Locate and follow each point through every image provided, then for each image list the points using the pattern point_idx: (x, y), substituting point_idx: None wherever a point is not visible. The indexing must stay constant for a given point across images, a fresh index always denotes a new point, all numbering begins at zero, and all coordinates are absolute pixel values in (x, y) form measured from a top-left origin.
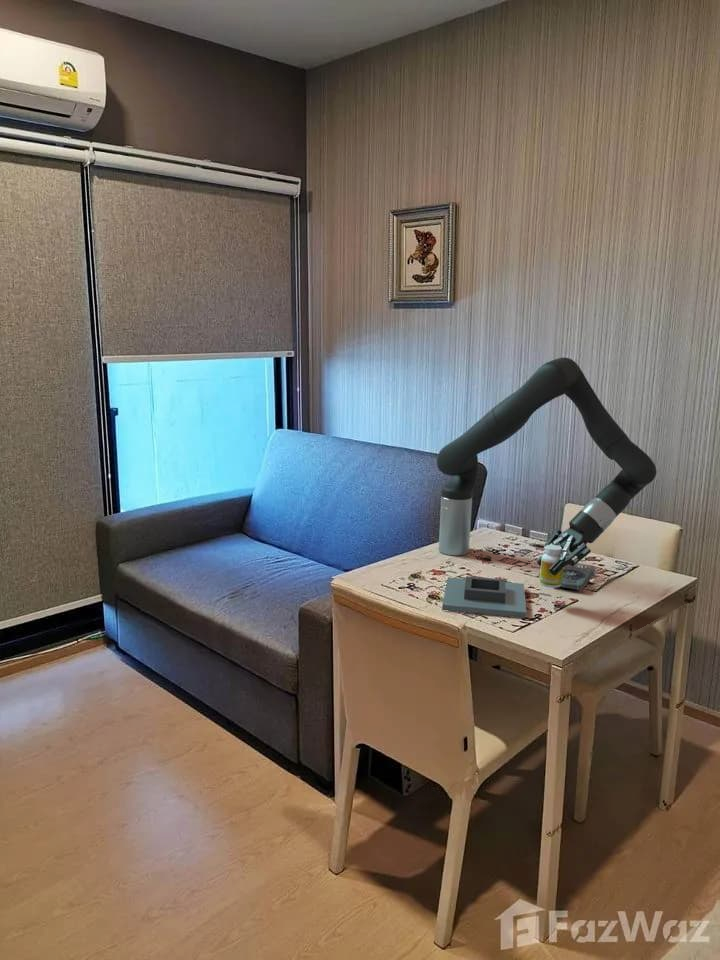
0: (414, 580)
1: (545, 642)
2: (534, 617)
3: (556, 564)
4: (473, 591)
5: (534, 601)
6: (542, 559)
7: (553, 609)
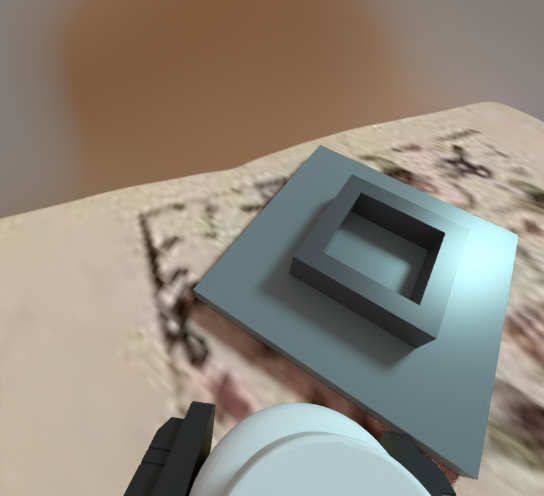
0: (511, 187)
1: (37, 249)
2: (188, 328)
3: (165, 472)
4: (339, 191)
5: None
6: (317, 405)
7: None
